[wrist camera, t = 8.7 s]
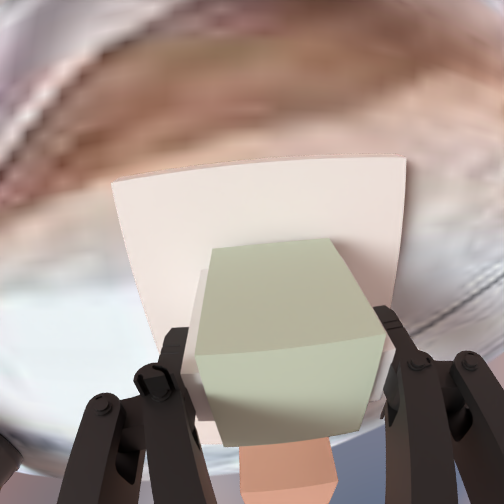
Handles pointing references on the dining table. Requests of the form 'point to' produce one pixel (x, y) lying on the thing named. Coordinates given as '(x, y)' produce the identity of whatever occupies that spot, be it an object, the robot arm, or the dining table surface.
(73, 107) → the dining table surface
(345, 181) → the stand
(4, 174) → the dining table surface
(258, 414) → the pale green block
